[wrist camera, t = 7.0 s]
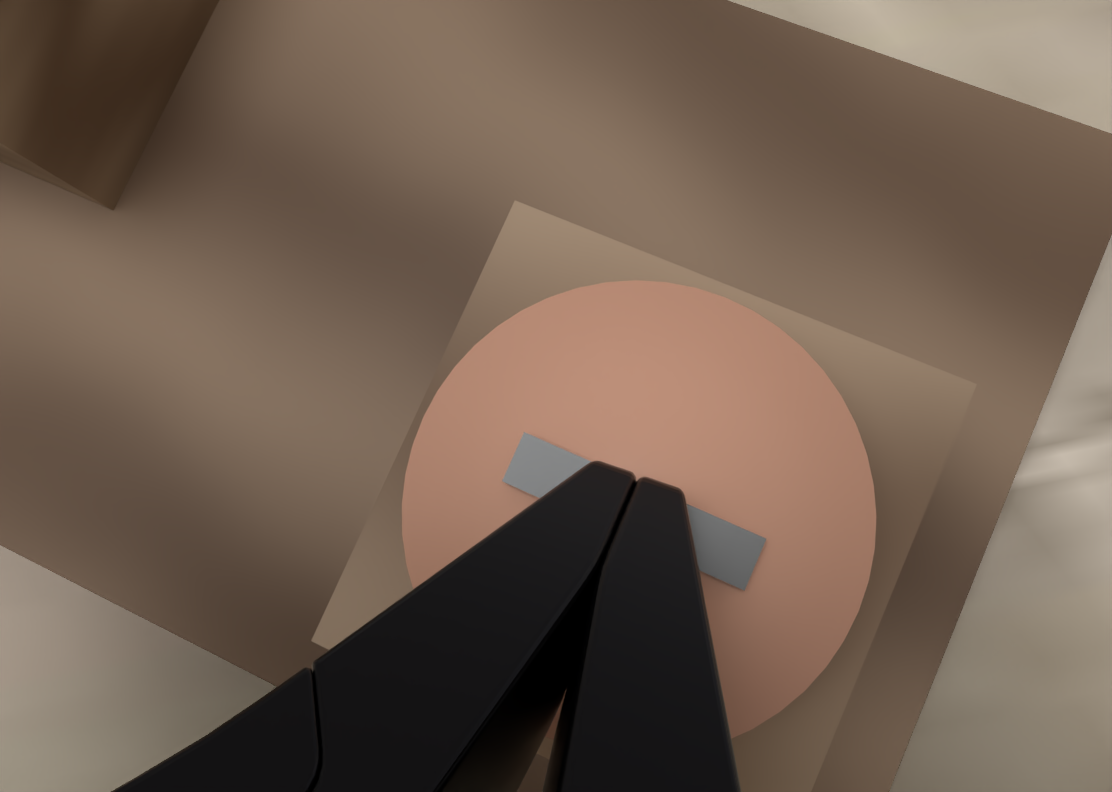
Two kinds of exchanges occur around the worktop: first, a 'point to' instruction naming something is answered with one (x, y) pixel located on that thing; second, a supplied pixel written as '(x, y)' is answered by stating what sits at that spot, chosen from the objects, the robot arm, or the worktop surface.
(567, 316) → the button
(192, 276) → the console
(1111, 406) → the worktop surface
